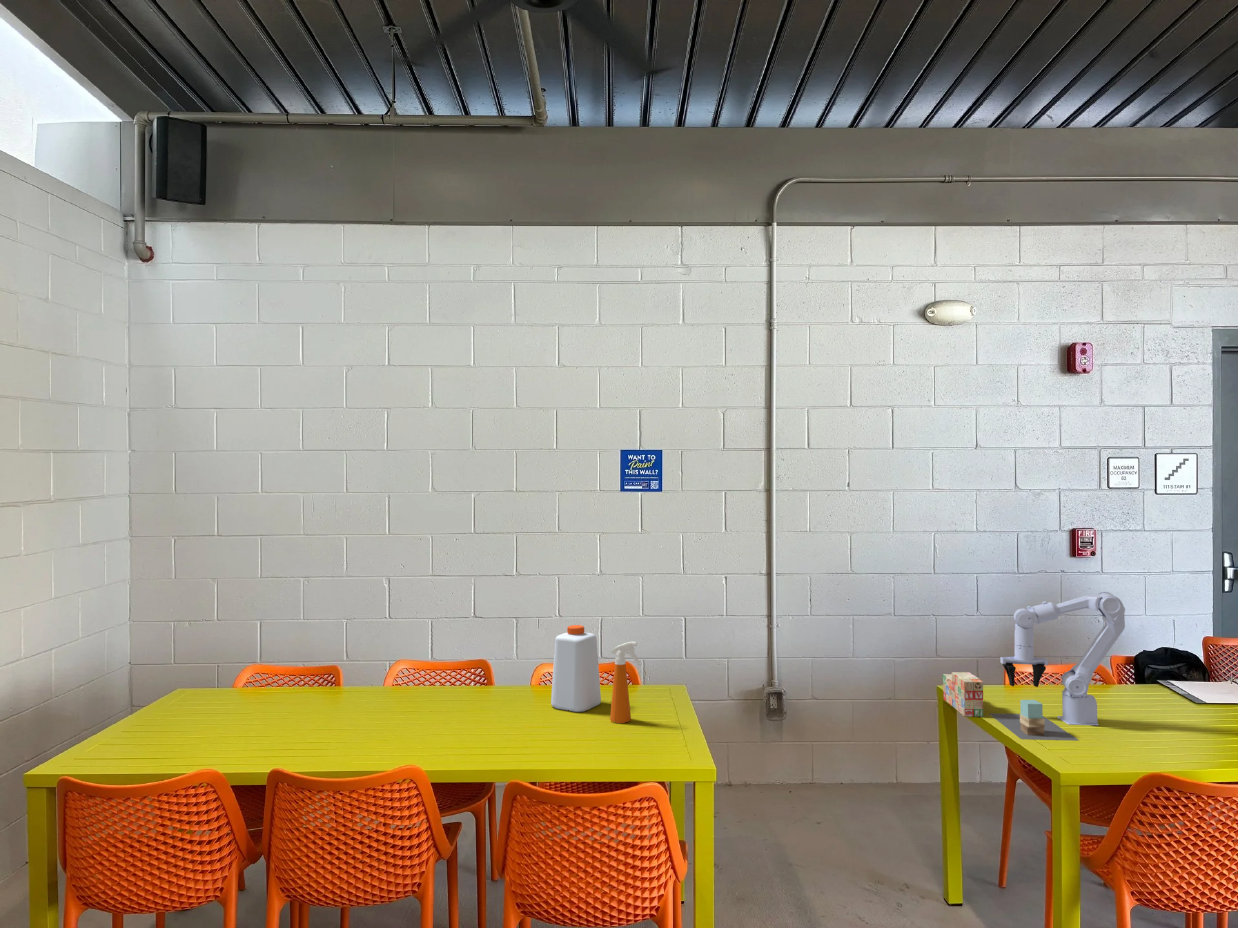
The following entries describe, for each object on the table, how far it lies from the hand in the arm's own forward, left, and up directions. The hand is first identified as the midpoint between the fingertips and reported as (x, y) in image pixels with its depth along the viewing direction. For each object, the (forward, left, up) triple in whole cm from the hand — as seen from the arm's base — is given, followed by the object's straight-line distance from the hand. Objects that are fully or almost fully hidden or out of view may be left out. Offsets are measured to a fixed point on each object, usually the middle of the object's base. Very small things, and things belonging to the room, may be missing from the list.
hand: (1023, 685), depth 262 cm
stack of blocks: (+17, -9, -11) cm, 22 cm away
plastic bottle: (+152, -3, -11) cm, 152 cm away
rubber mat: (+2, +11, -10) cm, 15 cm away
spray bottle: (+133, +13, -11) cm, 134 cm away
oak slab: (+5, +17, -8) cm, 19 cm away
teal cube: (+5, +17, -5) cm, 18 cm away
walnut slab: (+5, +17, -10) cm, 20 cm away
